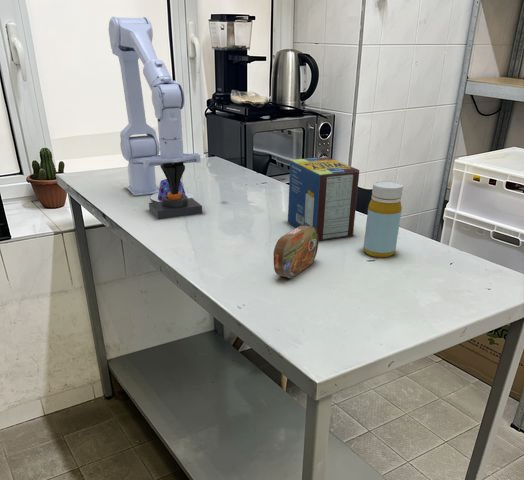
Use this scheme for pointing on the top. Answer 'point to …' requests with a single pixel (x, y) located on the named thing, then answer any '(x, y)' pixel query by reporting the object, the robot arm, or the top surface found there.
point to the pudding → (165, 189)
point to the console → (175, 207)
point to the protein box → (323, 196)
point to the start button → (174, 196)
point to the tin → (295, 251)
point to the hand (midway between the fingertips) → (174, 193)
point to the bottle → (383, 219)
